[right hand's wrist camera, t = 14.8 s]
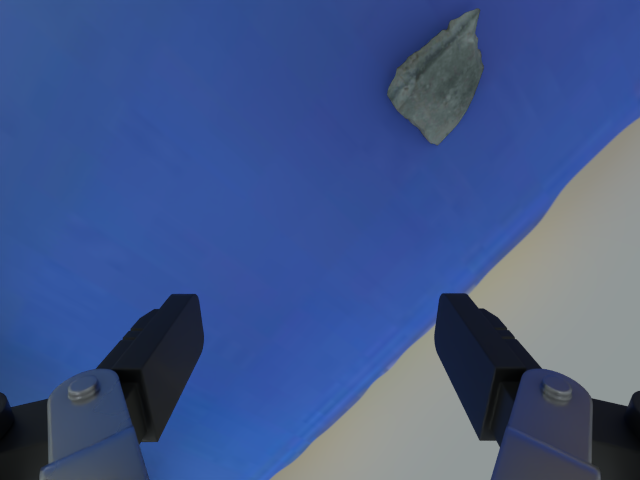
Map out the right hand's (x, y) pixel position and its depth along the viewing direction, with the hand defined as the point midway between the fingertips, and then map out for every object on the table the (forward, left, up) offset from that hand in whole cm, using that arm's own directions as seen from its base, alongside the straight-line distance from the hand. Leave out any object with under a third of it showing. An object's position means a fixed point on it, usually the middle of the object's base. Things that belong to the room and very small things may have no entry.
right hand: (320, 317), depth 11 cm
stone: (-11, +10, -29) cm, 33 cm away
